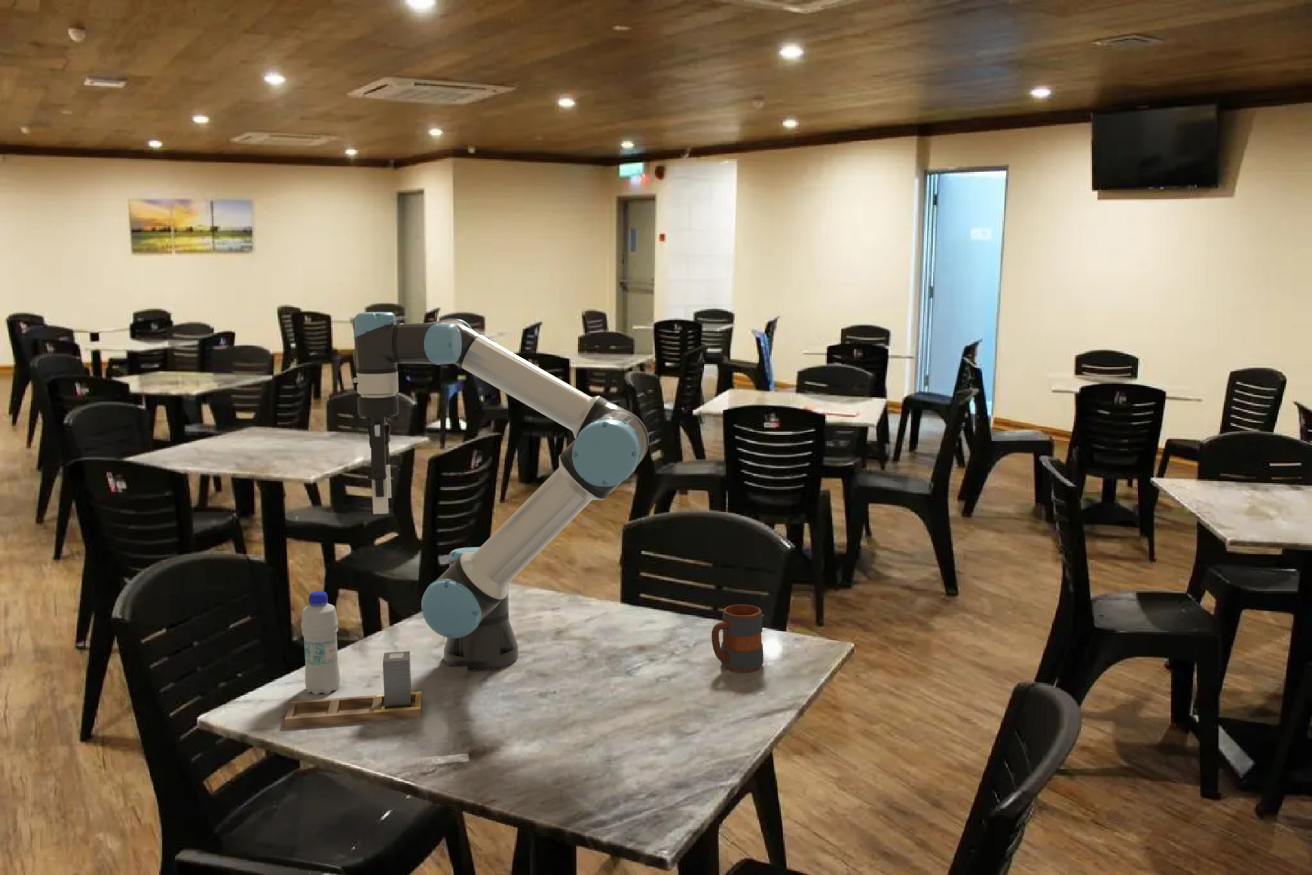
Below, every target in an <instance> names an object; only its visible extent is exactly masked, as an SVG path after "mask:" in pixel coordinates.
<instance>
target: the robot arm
mask: <svg viewBox="0 0 1312 875" xmlns="http://www.w3.org/2000/svg"><path fill="white" fill-rule="evenodd" d="M353 327H354V330H353V333H354V334H353V339H354V340H353V341H354V352H355V354H354V356H355V371H356V377H354V378H353V379H352V380H353V381H352V382H353V383H357V385H356V389H357V391H356V393H357V394H359V396H358V398H356V399H357V400H356V401H357V414H358V416H360V418H369V419H370V418H371V424H368V427H367V434H368V439H369V440H368V442H369V448H370V464H371V465H370V470H371V471H370V474H368V475H367V480H368V481H369V480H371V493H372V494H371V495H372V496H371V497H372V514H373V515H381V514H382V515H385V514H389V499H392V481H391V480H392V478H391V477H392V476H391V465H393V464H394V458H391V454H390V442H391V441H390V440H391V438H390V437H391V436H390V435H391V423H388V420H389V418H390V417H396V416H397V415H399V413H400V406H399V405H400V404H399V402H400V401H399V399H400V398H399V396H398V395H397V393H398V392H399V371H398V364H400V365H401V364H404V365H405V364H414V365H415V364H418V365H419V364H421V365H425V364H427V365H436V366H441V365H448V364H449V365H450V364H454V365H455V366H457V367H460V368H461V369H464V370H465V371H467V372H468V373H470V374H472V375H473V376H475V377H477V378H479V379H481V380H482V381H484V382H486V383H488V384H490V385H492V386H493V387H495V388H496V389H499V390H500V391H502V392H503V393H505V394H507V395H508V396H510V397H512V398H514V399H516V400H518V401H519V402H521V403H523V404H524V405H525V406H528V407H530V408H531V409H533V410H535V411H536V412H538V413H540V414H542V415H544V416H546V418H549V419H551V420H553V421H554V422H556V423H558V424H559V425H561V426H563V427H565V428H567V429H569V430H570V431H571V432H572V433H573V437H574V440H573V441H572V442H570V444H569V445H568V446H567V447H566V448H565V449H564V450H562V452H561V453H560V454H559V456H558V468H557V469H556V470H555V471H553V473H552V474H551V475H550V476H549V477H548V478H547V479H546V480H545V481H544V482H543V483H542V484H541V485H540V486H539V487H538V488H537V489H536V490H535V491H534V492H533V493H532V494H531V495H530V496H529V497H528V498H527V499H526V501H524V502H523V503H522V505H520V507H518V508H517V510H516V511H515V512H513V514H512V515H511V516H509V517H508V519H507V520H506V521H505V522H504V523H503V524H502V525H501V526H500V527H499V528H498V529H497V530H496V531H495V532H494V533H493V534H492V535H490V537H489V538H488V539H487V540H485V542H484V543H483V544H482V545H481V546H478V547H477V546H475V547H474V546H473V547H472V546H471V547H461V548H460V547H459V548H455V549H453V550H451V551H450V552H449V559H448V563H449V567H448V568H447V569H446V570H445V571H444V572H443V573H442V574H441V575H440V576H439V577H438V578H437V579H436V580H435V581H433V582H432V583H430V584H429V585H428V586H427V588H426V590H425V591H424V593H423V596H422V599H421V603H420V604H421V612H422V613H421V614H422V616H423V618H424V621H425V623H426V624H427V626H428V627H429V628H430V629H431V630H432V631H434V632H435V633H436V634H438V635H439V636H441V637H443V638H446V641H445V645H444V647H443V661H444V663H445V664H446V665H447V666H448V667H451V668H452V667H455V668H456V667H465V668H466V667H467V668H466V670H467V671H489V670H494V669H496V670H497V669H499V668H502V667H506V666H508V665H510V664H513V663H515V661H516V660H517V659H518V658H519V645H518V641H517V639H516V636H515V633H514V630H513V627H512V624H511V622H510V614H509V610H510V609H509V607H510V606H509V605H510V604H509V603H510V602H509V583H510V582H512V580H514V578H516V576H517V575H519V573H520V572H521V571H522V570H523V569H524V568H525V567H526V566H528V564H529V563H530V562H531V561H532V560H533V559H535V557H537V555H538V554H539V553H540V552H541V551H542V550H544V549H545V548H546V546H548V544H549V543H550V542H551V541H553V539H554V538H555V537H556V536H558V534H560V532H561V531H562V530H564V528H565V527H567V525H569V524H570V523H571V521H573V519H575V518H576V516H578V514H579V513H581V512H582V511H583V509H585V508H586V507H587V506H588V504H590V503H591V502H592V501H603V500H605V499H606V498H607V497H608V496H609V495H610V494H612V493H613V491H615V489H616V488H617V487H618V486H619V485H620V484H622V482H624V481H626V480H627V479H629V478H630V477H631V475H632V474H634V472H635V470H636V469H637V467H638V466H639V464H640V463H641V462H642V461H643V460H644V458H645V456H646V455H647V452H648V449H649V443H650V442H649V440H650V438H649V433H648V430H647V427H646V426H645V424H644V423H643V421H642V420H641V419H640V418H639V417H638V416H637V415H636V414H634V413H632V412H631V411H628V410H626V409H624V408H623V407H621V406H619V405H617V404H615V403H613V402H611V401H609V400H607V399H606V398H603V397H602V396H600V395H596V396H590V395H588V394H586V393H584V392H583V391H581V390H579V389H577V388H576V387H574V386H571V384H568V383H567V382H565V381H564V380H562V379H560V378H558V377H556V376H555V375H552V374H551V373H549V372H547V371H545V370H544V369H542V368H541V367H538V365H534V364H533V363H531V362H529V361H528V360H526V359H524V358H522V357H520V356H519V355H517V354H515V353H514V352H511V351H510V350H508V349H506V348H504V347H503V346H501V345H499V344H498V343H496V342H494V341H492V340H491V339H488V338H487V337H485V336H483V334H482V335H481V334H479V333H478V332H476V331H474V330H473V328H472V326H470V324H469V323H468V322H466V321H465V320H463V319H460V318H459V319H458V318H452V317H451V318H450V317H449V318H445V319H442V320H437V321H431V322H423V323H421V322H417V323H416V322H415V323H414V322H413V323H410V322H409V323H403V322H397V319H396V314H394V313H393V312H391V311H390V312H389V311H387V312H386V311H376V312H375V311H370V312H369V311H367V312H364V311H363V312H359V313H357V314H356V315H355V317H354V326H353Z"/></svg>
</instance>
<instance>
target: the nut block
mask: <svg viewBox="0 0 1312 875" xmlns="http://www.w3.org/2000/svg"><path fill="white" fill-rule="evenodd" d="M382 672H383V673H382V674H383V694H384V701H385V709H393V708H407V707H412V695H411V692H412V673H411V651H409V650H406V651H391V652H384V653H383V657H382Z"/></svg>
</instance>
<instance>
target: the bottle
mask: <svg viewBox="0 0 1312 875" xmlns="http://www.w3.org/2000/svg"><path fill="white" fill-rule="evenodd" d="M308 604H309V605H307V606H306V607H304V608H303V609H302V615H301V623H300V624H301V625H300V627H301V635H302V636H303V644H304V660H305V661H304V663H305V667H304V668H305V669H304V671H305V672H304V674H305V675H304V684H305V690H306V692H307V693H312V694H313V695H315V696H317V695H320V694H322V693H323V694H324V695H327V694H328V695H329V694H330V693H331V692H332V691H333V692H334V691H336V692H337V691H338V690H339V689H340V684H341V675H340V674H341V673H340V666H339V656H338V655H339V653H338V652H339V651H338V631H339V627H338V626H339V621H338V620H339V619H338V615H337V610H336V607H335V605H333V604H331V603H329V602H328V594H327V592H325V591H323V590H317V591H312V592H310V594H309V595H308Z"/></svg>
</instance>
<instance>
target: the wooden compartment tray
mask: <svg viewBox="0 0 1312 875" xmlns="http://www.w3.org/2000/svg"><path fill="white" fill-rule="evenodd" d="M411 695H412V707H407V708H393V709H385V701H384V693H383V694H382V693H381V694H376V695H375V694H374V695H373V694H372V695H361V696H348V697H347V696H346V697H345V696H344V697H335V698H333V697H332V698H317V699H306V700H303V699H302V700H292V701H290V704H289V705H288V708H287V712H286V714H285V718H284V727H285V728H298V727H299V728H301V727H312V726H325V725H326V726H327V725H338V724H352V723H353V724H354V723H364V722H379V721H393V720H403V719H404V720H405V719H417V718H418V719H419V718H421V717H422V701H423V700H422V699H423V697H422V695H423V694H422V691H411Z"/></svg>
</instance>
